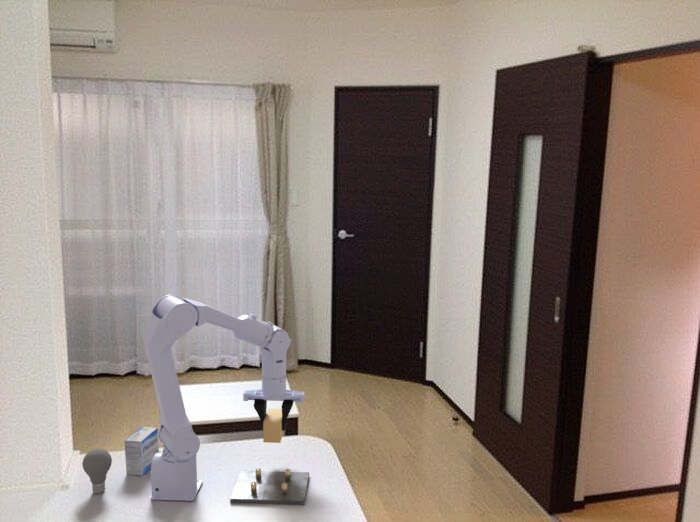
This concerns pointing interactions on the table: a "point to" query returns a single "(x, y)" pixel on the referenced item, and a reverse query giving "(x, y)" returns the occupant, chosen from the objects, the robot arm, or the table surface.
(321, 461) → the table surface
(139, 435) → the medicine box
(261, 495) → the chassis plate
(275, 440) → the ochre block
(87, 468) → the light bulb
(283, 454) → the table surface
